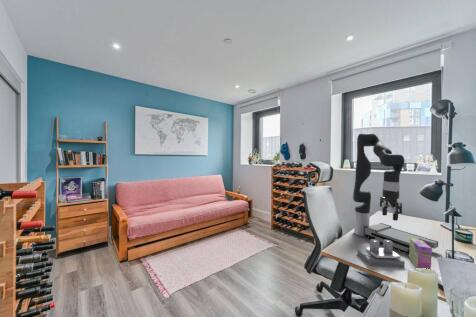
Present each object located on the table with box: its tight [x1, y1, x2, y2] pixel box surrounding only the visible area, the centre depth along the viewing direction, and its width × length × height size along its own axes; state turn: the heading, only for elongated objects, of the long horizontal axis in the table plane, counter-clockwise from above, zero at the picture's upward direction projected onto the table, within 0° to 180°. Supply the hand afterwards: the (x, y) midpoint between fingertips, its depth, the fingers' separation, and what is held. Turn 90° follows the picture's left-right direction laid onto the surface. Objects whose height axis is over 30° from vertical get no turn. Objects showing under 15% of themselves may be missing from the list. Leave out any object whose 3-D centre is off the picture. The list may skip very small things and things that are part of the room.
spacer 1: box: [369, 239, 380, 253], centre depth 112 cm, size 4×4×6 cm
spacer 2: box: [382, 240, 394, 254], centre depth 112 cm, size 4×4×6 cm
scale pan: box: [365, 247, 401, 259], centre depth 112 cm, size 9×13×1 cm
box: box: [408, 238, 433, 270], centre depth 109 cm, size 10×6×12 cm, turn 158°
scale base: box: [357, 248, 406, 268], centre depth 112 cm, size 12×18×4 cm, turn 87°
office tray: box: [365, 222, 439, 255], centre depth 132 cm, size 21×32×8 cm, turn 28°
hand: (389, 217), depth 112 cm, fingers open, 8 cm apart
